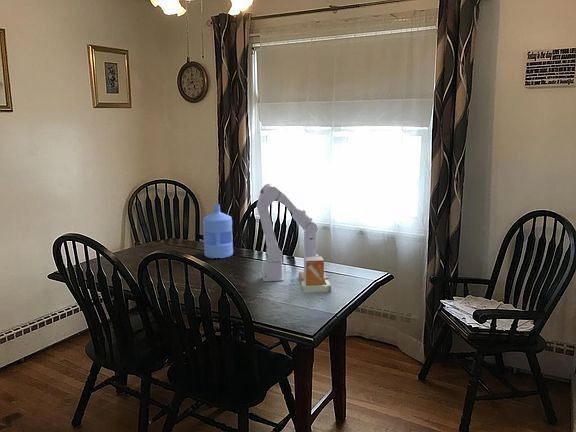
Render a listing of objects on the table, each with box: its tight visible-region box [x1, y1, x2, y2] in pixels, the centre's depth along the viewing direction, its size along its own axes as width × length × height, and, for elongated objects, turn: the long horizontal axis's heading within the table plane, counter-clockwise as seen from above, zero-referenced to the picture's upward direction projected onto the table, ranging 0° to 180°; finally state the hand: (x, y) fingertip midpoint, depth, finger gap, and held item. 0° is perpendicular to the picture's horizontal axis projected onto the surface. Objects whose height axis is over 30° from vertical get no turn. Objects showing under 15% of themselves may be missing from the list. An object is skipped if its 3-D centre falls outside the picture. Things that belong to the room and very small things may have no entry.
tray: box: [300, 279, 332, 294], centre depth 215 cm, size 12×8×2 cm, turn 96°
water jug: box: [202, 203, 234, 260], centre depth 265 cm, size 16×16×28 cm
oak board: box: [298, 271, 329, 282], centre depth 226 cm, size 12×10×3 cm
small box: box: [303, 255, 325, 286], centre depth 217 cm, size 8×6×13 cm
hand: (309, 273), depth 232 cm, fingers closed
